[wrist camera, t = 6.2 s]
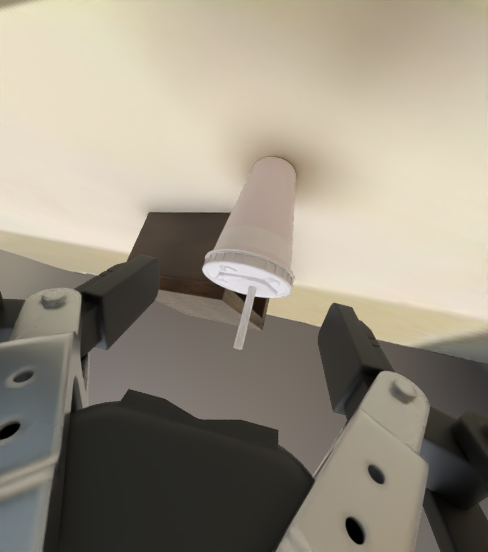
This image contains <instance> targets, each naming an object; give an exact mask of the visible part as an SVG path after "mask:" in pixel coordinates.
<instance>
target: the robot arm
mask: <svg viewBox="0 0 488 552" xmlns="http://www.w3.org/2000/svg"><path fill="white" fill-rule="evenodd" d="M159 275H160V261H159V259H158V258H154V257H150V256H146V255H139V256H137V257H136V258H134V259H133V260H131V261H129V262H124V263H121V264H117V265H115V266H113V267H111V268H109V269H108V270H107V271H104V272H102V273H101V274H99V276H98V275H97V276H96V277H94V278H92V279H91V280H89V281H87V282H85V283H84V284H82V285H80V286H78V287H77V288H75V289H69V288H53V289H47V290H43V291H40V292H37V293H35V294H33V295H31V296H30V297H28V298H27V299H26V300H17V299H3V298H2V295H1V292H0V552H414V550H415V544H416V538H417V533H418V527H419V522H420V516H421V511H422V505H423V507H424V510H425V513H426V515H427V518H428V520H429V523H430V526H431V528H432V531H433V533H434V536H435V539H436V541H437V544H438V546H439V549H440V551H441V552H488V520H487V518H486V516H485V515H484V513H483V511H482V509H481V508H480V506H479V504H478V503H479V502H481V501H482V500H484V499H485V498H487V497H488V416H486V415H484V414H482V413H479V412H476V411H469V410H468V411H465V412H464V413H463V414H462V415H461V416H460V417H459V418H458V419H455V418H453V417H451V416H449V415H447V414H445V413H443V412H441V411H439V410H437V409H435V408H433V407H431V406H430V404H429V401H428V399H427V397H426V396H425V395H424V393H423V392H422V391H421V390H420V389H419V388H418V387H417V386H416V385H415V384H414V383H412V382H411V381H410V380H408V379H407V378H405V377H403V376H401V375H399V374H397V373H395V372H394V370H393V368H392V367H391V365H390V363H389V361H388V359H387V358H386V356H385V354H384V352H383V351H382V349H381V348H380V345H379V344H378V342H377V341H376V338H375V336H374V335H373V333H372V331H371V330H370V329H369V328H368V327H367V326H366V325H365V324H364V323H363V322H362V321H360V320H359V319H358V318H357V316H356V314H355V312H354V310H353V308H352V307H349V306H345V305H341V304H337V303H333V304H332V305H331V306H330V309H329V311H328V313H327V315H326V317H325V320H324V322H323V324H322V326H321V329H320V331H319V335H318V346H319V350H320V355H321V359H322V364H323V369H324V373H325V378H326V382H327V387H328V391H329V396H330V400H331V405H332V409H333V412H336V413H339V414H343V415H346V418H347V422H346V424H345V425H344V427H343V428H342V430H341V431H340V433H339V435H338V436H337V438H336V440H335V441H334V443H333V445H332V446H331V447H330V449H329V451H328V452H327V454H326V456H325V457H324V459H323V460H322V462H321V464H320V465H319V467H318V468H317V470H316V472H315V473H314V475H313V476H312V475H311V474H310V473H309V471H308V470H307V469H306V468H305V467H304V466H303V464H302V463H301V462H300V461H299V460H298V459H297V458H295V457H294V456H293V455H292V454H291V453H290V452H288V451H287V450H286V449H284V448H283V447H281V446H280V445H278V430H276V429H272V428H268V427H265V426H262V425H258V424H254V423H250V422H247V421H243V420H201V419H198V418H195V417H193V416H192V415H191V414H189V413H187V412H186V411H184V410H182V409H181V408H179V407H177V406H176V405H174V404H172V403H171V402H169V401H167V400H166V399H163V398H159V397H156V396H152V395H149V394H145V393H141V392H137V391H134V390H130V389H129V390H128V391H127V392H126V394H125V395H124V397H123V398H122V400H121V401H115V402H105V403H100V404H96V405H92V406H89V407H88V391H89V362H90V357H89V351H90V350H91V349H92V348H94V347H97V348H101V349H105V350H108V349H109V348H110V347H111V346H112V344H114V342H115V341H116V340H117V339H118V338H119V337H120V336H121V335H122V334H123V333H124V332H125V331H126V330H127V329H128V328H129V327H130V326H131V325H132V323H134V322H135V320H136V319H137V318H138V317H139V316H140V315H141V314H142V313H143V312H144V311H145V310H146V309H147V308H148V307H149V306H150V305H151V304H152V303H153V302H154V300H155V299H156V297H157V295H158V291H159Z"/></svg>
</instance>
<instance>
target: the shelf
mask: <svg viewBox="0 0 488 552" xmlns="http://www.w3.org/2000/svg"><path fill="white" fill-rule="evenodd" d="M230 214H231V213H149V214H148V216H147V218H146V220H145V223H144V225H143V227H142V229H141V231H140V234H139V236H138V238H137V240H136V242H135V245H134V247H133V249H132V251H131V253H130V256H129V258H128V260H127V262H129V261H131V260H133V259H134V258H136V257H137V256H139V255H146V256H150V257H154V258H158V259H159V261H160V275H159V291H158V295H157V297H156V299H155V300H156V301H158V302H161V303H163V304H165V305H167V306H169V307H171V308H174V309H176V310H178V311H180V312H182V313H185V314H187V315H190V316H195V317H199V318H204V319H209V320H214V321H218V322H224V323H228V324H233V325H237V326H239V324H240V320H241V316H242V312H243V308H244V304H245V300H246V296H247V295H246V294H242V293H238V292H235V291H232V290H229V289H227V288H224V287H222V286H220V285H218V284H216V283H214V282H213V281H211V280H210V279H209V278H207V277H206V275H205V274H204V273H203V270H202V268H203V265H204V262H205V256H206V254H207V253H208V252H210V251H212V250H214V248H215V246H216V243H217V241H218V239H219V237H220V235H221V233H222V231H223V229H224V227H225V225H226V222H227V220H228V218H229V216H230ZM268 302H269V298H263V297H256V296H255V297H254V302H253V306H252V310H251V314H250V318H249V323H248V327H247V328H252V329H257V330H261V331H262V330H263V326H264V320H265V316H266V312H267V307H268Z"/></svg>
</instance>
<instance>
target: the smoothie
mask: <svg viewBox="0 0 488 552" xmlns="http://www.w3.org/2000/svg"><path fill="white" fill-rule="evenodd" d="M295 187H296V172H295V169H294V168H293V166H292V165H291V164H290V163H289V162H287V161H286V160H284V159H281V158H278V157H265V158H262V159H260V160H258V161H257V162H256V163H255V164H254V166H253V168H252V170H251V172H250V174H249V176H248V178H247V181H246V183H245V185H244V187H243V189H242V191H241V193H240V195H239V197H238V199H237V202H236V204H235V206H234V208H233V210H232V212H231V214H230V216H229V218H228V220H227V222H226V225H225V227H224V229H223V231H222V233H221V235H220V237H219V239H218V241H217V243H216V246H215V248H214V250H212V251H210V252H208V253H207V254H206V256H205V262H204V265H203V268H202V270H203V273H204V274H205V275H206V277H207V278H209V279H210V280H211V281H213V282H214V283H216V284H218V285H220V286H222V287H224V288H227V289H229V290H232V291H235V292H238V293H242V294H246V295H247V296H246V300H245V304H244V308H243V312H242V316H241V320H240V324H239V328H238V332H237V336H236V340H235V344H234V348H236V349H240V350H242V347H243V343H244V339H245V335H246V331H247V327H248V323H249V318H250V314H251V310H252V306H253V302H254V297H255V296H256V297H263V298H279V297H284V296H287V295H288V294H290V293H291V291H292V285H293V282H294V278H295V277H294V275H293V272H292V271H291V257H292V238H293V221H294V204H295Z"/></svg>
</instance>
